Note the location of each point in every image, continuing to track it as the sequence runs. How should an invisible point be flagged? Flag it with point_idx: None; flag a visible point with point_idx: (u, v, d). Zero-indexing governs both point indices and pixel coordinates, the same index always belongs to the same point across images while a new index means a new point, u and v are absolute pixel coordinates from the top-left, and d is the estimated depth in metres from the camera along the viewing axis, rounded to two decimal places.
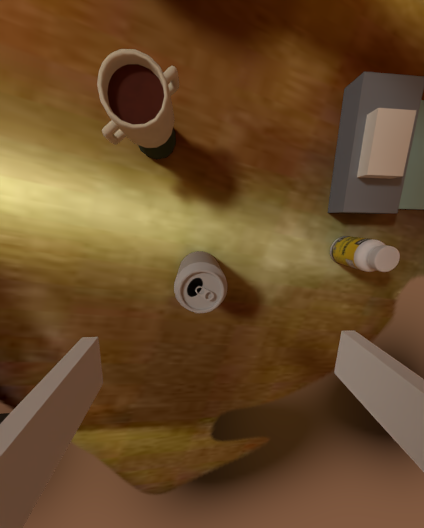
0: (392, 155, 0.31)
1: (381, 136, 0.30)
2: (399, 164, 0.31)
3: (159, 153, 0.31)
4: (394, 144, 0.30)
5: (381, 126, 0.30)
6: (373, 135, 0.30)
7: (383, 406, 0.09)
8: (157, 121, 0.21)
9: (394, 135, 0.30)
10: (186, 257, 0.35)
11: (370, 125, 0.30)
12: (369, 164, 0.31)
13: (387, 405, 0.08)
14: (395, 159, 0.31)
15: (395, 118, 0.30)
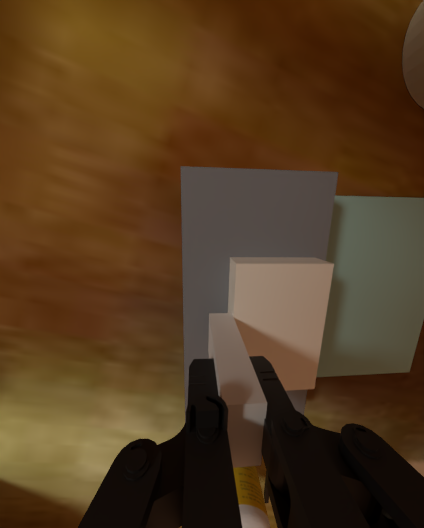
0: (285, 354, 0.13)
1: (253, 321, 0.13)
2: (304, 370, 0.14)
3: None
4: (288, 333, 0.13)
5: (250, 301, 0.12)
6: None
7: None
8: None
9: (284, 317, 0.13)
10: None
11: (231, 289, 0.13)
12: None
13: None
14: (294, 362, 0.14)
15: (283, 283, 0.12)
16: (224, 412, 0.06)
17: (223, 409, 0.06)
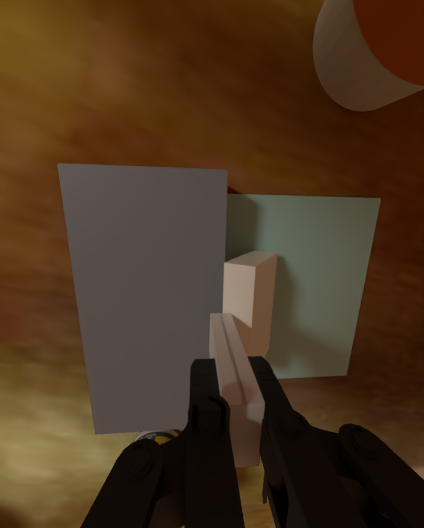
0: (264, 333, 0.16)
1: (257, 316, 0.13)
2: (267, 337, 0.18)
3: None
4: (265, 315, 0.16)
5: (257, 299, 0.13)
6: (251, 323, 0.12)
7: None
8: None
9: (265, 302, 0.15)
10: None
11: (238, 294, 0.12)
12: None
13: None
14: (265, 335, 0.17)
15: (267, 275, 0.14)
16: (226, 412, 0.06)
17: (225, 409, 0.06)
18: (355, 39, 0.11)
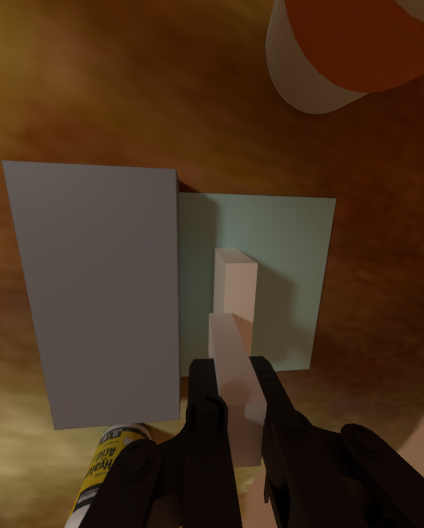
0: None
1: None
2: None
3: None
4: None
5: None
6: (253, 316, 0.13)
7: None
8: None
9: None
10: None
11: (241, 292, 0.13)
12: None
13: None
14: None
15: None
16: (224, 412, 0.06)
17: (223, 409, 0.06)
18: (294, 45, 0.12)
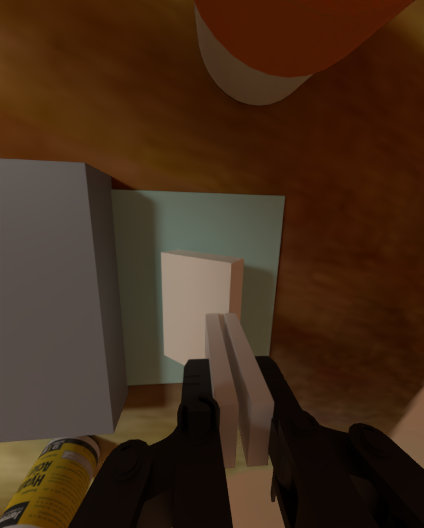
0: None
1: None
2: None
3: None
4: None
5: None
6: (240, 306, 0.15)
7: (231, 372, 0.10)
8: None
9: None
10: None
11: (237, 287, 0.14)
12: None
13: (231, 370, 0.10)
14: None
15: None
16: (216, 412, 0.06)
17: (215, 409, 0.06)
18: (207, 25, 0.11)
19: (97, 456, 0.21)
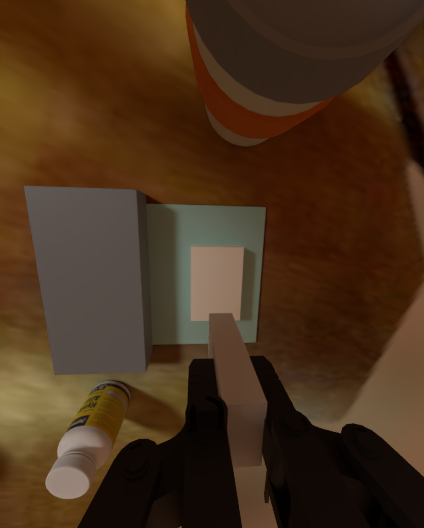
0: None
1: None
2: None
3: None
4: None
5: None
6: None
7: None
8: None
9: None
10: None
11: None
12: None
13: None
14: None
15: None
16: (224, 412, 0.06)
17: (223, 409, 0.06)
18: None
19: (129, 398, 0.28)
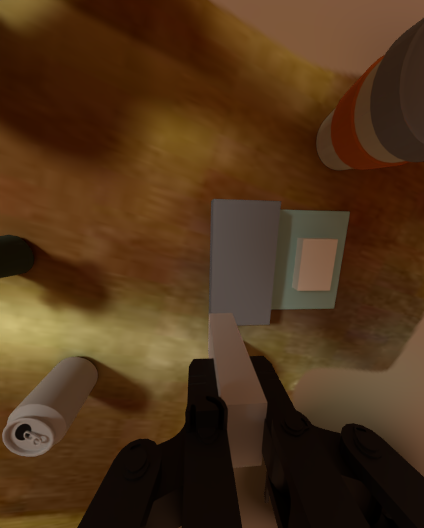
0: None
1: None
2: None
3: (10, 275, 0.30)
4: None
5: None
6: None
7: None
8: None
9: None
10: (53, 368, 0.34)
11: None
12: None
13: None
14: None
15: None
16: (224, 412, 0.06)
17: (223, 409, 0.06)
18: (333, 151, 0.29)
19: None
